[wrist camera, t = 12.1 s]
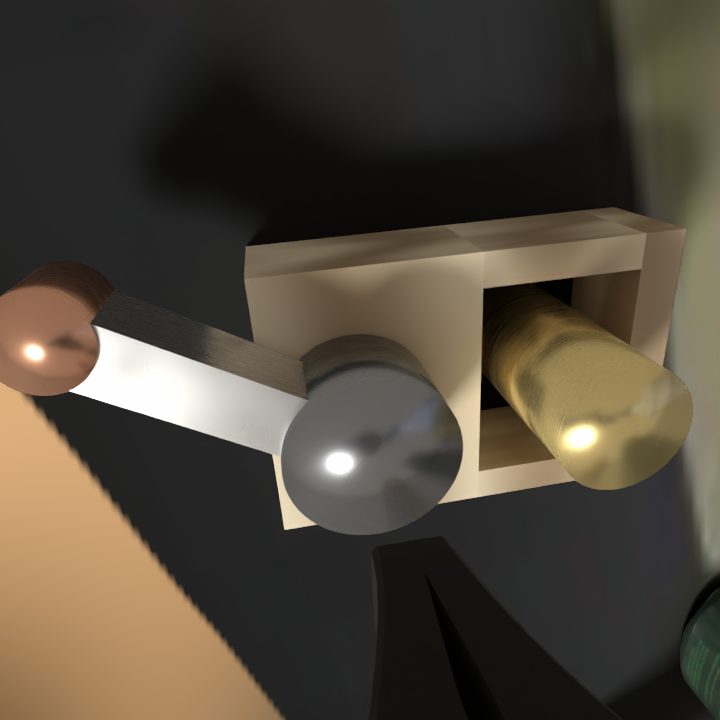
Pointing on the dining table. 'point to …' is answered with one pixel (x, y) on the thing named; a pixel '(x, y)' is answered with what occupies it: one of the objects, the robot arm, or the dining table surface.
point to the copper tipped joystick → (245, 394)
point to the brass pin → (582, 388)
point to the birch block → (466, 311)
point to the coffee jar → (703, 654)
